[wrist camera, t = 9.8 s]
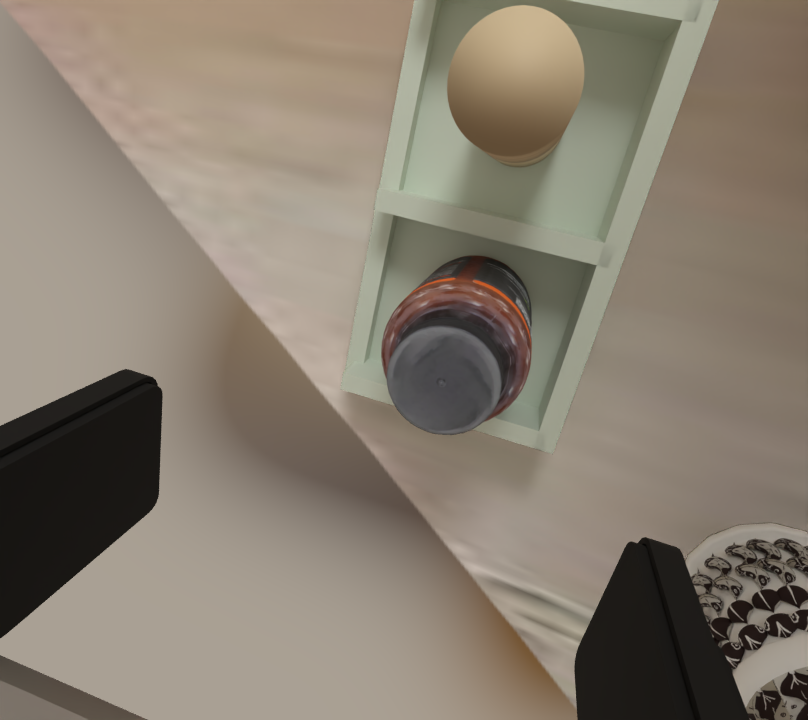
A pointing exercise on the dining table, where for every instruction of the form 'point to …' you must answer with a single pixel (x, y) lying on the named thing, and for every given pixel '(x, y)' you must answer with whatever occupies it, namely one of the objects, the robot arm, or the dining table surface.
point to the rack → (526, 190)
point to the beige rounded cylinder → (516, 84)
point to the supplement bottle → (459, 346)
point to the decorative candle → (759, 613)
